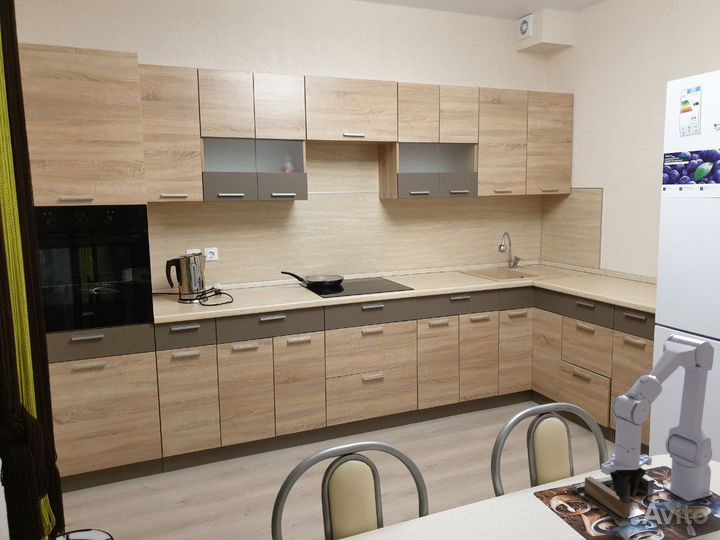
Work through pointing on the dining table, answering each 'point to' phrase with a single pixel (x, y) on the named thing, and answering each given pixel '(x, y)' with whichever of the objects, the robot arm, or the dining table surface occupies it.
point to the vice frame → (643, 486)
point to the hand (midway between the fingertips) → (624, 495)
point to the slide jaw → (609, 496)
